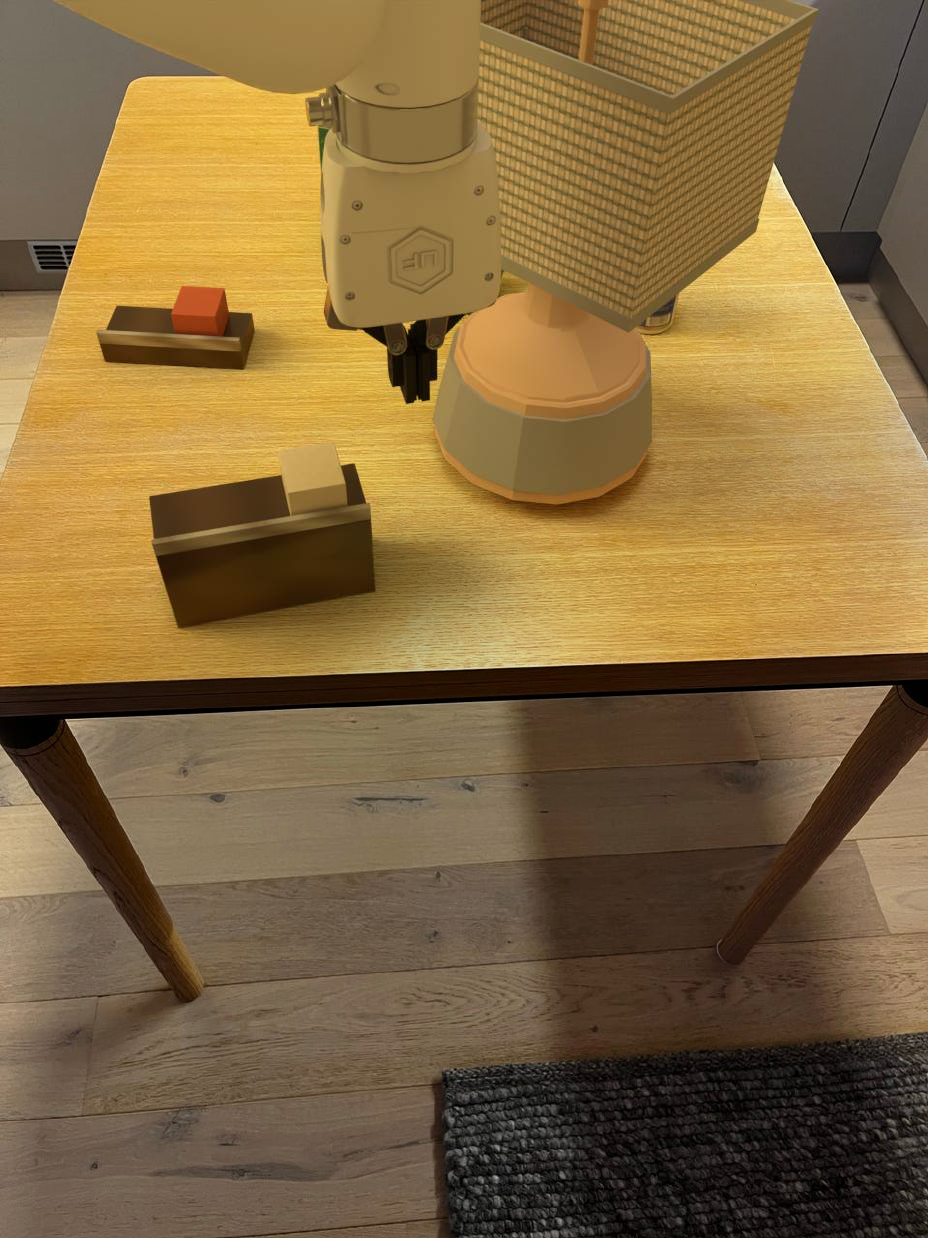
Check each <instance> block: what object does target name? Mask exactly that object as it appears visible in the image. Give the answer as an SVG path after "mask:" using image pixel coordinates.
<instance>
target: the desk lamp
mask: <svg viewBox="0 0 928 1238" xmlns="http://www.w3.org/2000/svg"><path fill="white" fill-rule="evenodd" d="M818 12H819V8H817V7H813V6H810V5H806V4H803V3H800V2H797V1H794V0H481V22H480V54H479V86H478V118H477V121H479V122H480V123H481V124H482V126H483V127H484V128H485V130H486V131H487V132H488V133H489V134H490V136H491V138H492V143H493V148H494V155H495V161H496V170H497V178H498V191H499V206H500V229H501V269H502V270H504V272H506V273H508V274H509V275H512V276H514V277H516V278H518V279H520V280H522V281H524V282H526V283H528V288H527V291H521V292H513V293H507V294H504V295H501V296H499V298H497V299H496V302H495V304H494V305H492V306H490V307H488V308H485V309H482V310H479V311H477V312H474V313H471V314H469V316H468V317H467V318H466V319H465V320H464V321H463V322H462V323H461V325H460V326H459V327H458V328H457V329H456V330H455V331H454V332H453V335H452V339H451V343H450V347H449V350H448V354H447V358H446V362H445V365H444V368H443V372H442V375H441V379H440V384H439V387H438V391H437V394H436V400H435V404H434V405H435V406H434V411H433V415H432V423H433V425H434V428H433V432H434V435H435V438H436V439H437V440H436V441H437V443H438V445H439V447H440V450H441V453H442V455H443V457H444V459H445V461H446V462H447V463H448V464H450V465H451V466H452V467H453V468H454V469H456V470H457V471H458V472H459V473H460V474H461V475H462V476H463V477H465V479H467V480H468V481H469V482H470V483H471V484H472V485H474V486H477V487H480V488H482V489H485V490H487V491H489V492H491V493H494V494H497V495H499V496H502V497H504V498H507V499H509V500H512V501H518V502H528V503H539V504H548V505H562V504H568V503H572V502H578V501H583V500H584V501H585V500H588V499H595V498H599V497H601V496H603V495H605V494H606V493H608V492H610V491H612V490H613V489H615V488H617V487H618V486H620V485H622V484H623V483H626V482H627V481H629V480H630V479H632V478H633V476H634V474H635V473H636V472H637V470H638V469H639V467H640V466H641V465H642V462H643V461H644V459H645V458H646V457H647V455H648V453H649V448H650V446H651V445H652V443H653V396H652V362H651V357H652V356H651V351H650V349H649V347H648V346H647V343H646V341H645V339H644V338H643V337H642V335H641V333H639V332H638V330H637V329H636V327H637V326H638V325H639V324H640V323H642V322H643V321H644V320H645V319H647V318H648V317H649V316H651V315H652V314H653V313H654V312H656V311H657V310H658V309H659V308H661V307H662V306H663V305H664V304H666V303H667V302H668V301H669V300H671V299H672V298H673V297H674V296H676V295H677V294H678V293H679V294H680V293H681V292H682V291H683V290H684V289H687V288H688V286H690V285H691V284H692V283H693V282H695V281H696V280H697V279H699V278H700V277H701V276H702V275H703V274H705V273H706V272H708V270H710V269H711V268H713V267H714V266H715V265H716V264H718V263H719V262H720V261H722V259H725V257H726V256H728V255H729V254H730V253H731V252H733V251H734V250H735V249H737V248H738V247H739V246H740V245H741V244H743V243H744V242H745V241H747V240H748V239H749V238H750V237H752V236H753V235H754V234H755V233H756V232H757V229H758V226H759V222H760V217H759V216H760V213H761V209H762V206H763V203H764V199H765V194H766V191H767V188H768V185H769V181H770V177H771V174H772V170H773V167H774V163H775V159H776V156H777V153H778V148H779V146H780V141H781V138H782V135H783V132H784V127H785V124H786V122H787V121H786V120H787V117H788V113H789V110H790V106H791V104H792V103H791V102H792V98H793V95H794V92H795V88H796V84H797V81H798V77H799V74H800V71H801V67H802V63H803V60H804V57H805V52H806V49H807V46H808V43H809V39H810V34H811V31H812V29H813V28H812V27H813V26H814V25H815V24H816V20H817V16H818Z"/></svg>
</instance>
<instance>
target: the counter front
mask: <svg viewBox="0 0 928 1238" xmlns="http://www.w3.org/2000/svg"><path fill="white" fill-rule="evenodd" d="M340 465H341V469H342V472H343V476H344V479H345V483H346V493H347V505H348V506H347V507H342V508H336V509H330V510H324V511H318V512H312V513H306V514H300V515H294V516H290V511H289V507H288V502H287V498H286V494H285V489H284V485H283V481H282V474H279V475H273V476H266V477H259V478H254V479H247V480H241V481H235V482H229V483H222V484H216V485H211V486H210V485H209V486H203V487H197V488H192V489H185V490H179V491H173V492H172V491H171V492H165V493H160V494H154V495H153V494H152V495H149V497H148V500H149V501H148V502H149V509H150V510H149V511H150V518H151V527H152V535H153V536H152V537H153V538H152V539H151V546H152V549H153V552H154V555H155V559H156V562H157V565H158V568H159V571H160V575H161V577H162V578H161V579H162V581H163V584H164V587H165V591H166V594H167V597H168V601H169V604H170V607H171V611H172V614H173V616H174V619H175V623H176V626H177V628H184V627H189V626H194V625H199V624H205V623H211V622H217V621H221V620H226V619H231V618H232V619H233V618H237V617H243V616H248V615H253V614H259V613H265V612H271V611H276V610H281V609H287V608H291V607H298V606H301V605H309V604H313V603H318V602H323V601H328V600H334V599H340V598H346V597H351V596H357V595H362V594H366V593H367V594H368V593H373V592H376V580H375V579H376V578H375V577H376V576H375V564H374V563H375V561H374V560H375V559H374V545H373V544H374V543H373V527H372V525H373V524H372V509H371V504H370V502H367V501H366V497H365V493H364V490H363V486H362V483H361V481H360V477H359V473H358V471H357V467H356V466H357V465H356V463H353V462H352V463H347V464H340Z"/></svg>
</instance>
